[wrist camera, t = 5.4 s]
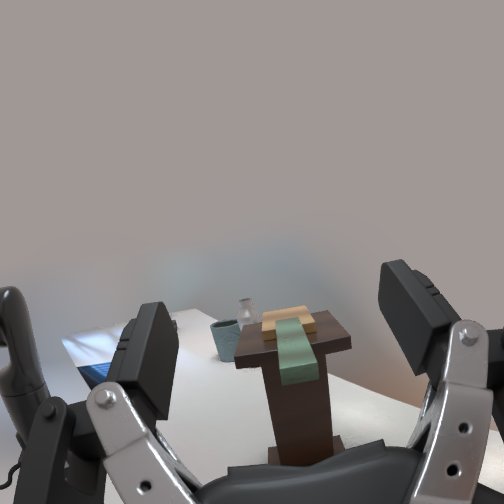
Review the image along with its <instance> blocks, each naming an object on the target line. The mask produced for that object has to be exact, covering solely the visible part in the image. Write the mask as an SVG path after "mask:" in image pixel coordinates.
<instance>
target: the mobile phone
mask: <svg viewBox="0 0 504 504" xmlns="http://www.w3.org/2000/svg"><path fill="white" fill-rule="evenodd" d="M172 322H173V325H174V327H175V329H176V331H177V324H176V320H172Z"/></svg>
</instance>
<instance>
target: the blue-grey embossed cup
mask: <svg viewBox="0 0 504 504" xmlns="http://www.w3.org/2000/svg"><path fill="white" fill-rule="evenodd" d="M210 328H211V331H212V334H213V338H214V341H215V344H216V347H217V351H218V354H219V357H220V360H221V361H223V362H232V361H234V354H235V351H236V347H237V344H238V341H239V337H240V334H241V331H240V328H239V325H238V322H237V319H228V320H223V321H219V322H216V323H213V324H211V325H210Z"/></svg>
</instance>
